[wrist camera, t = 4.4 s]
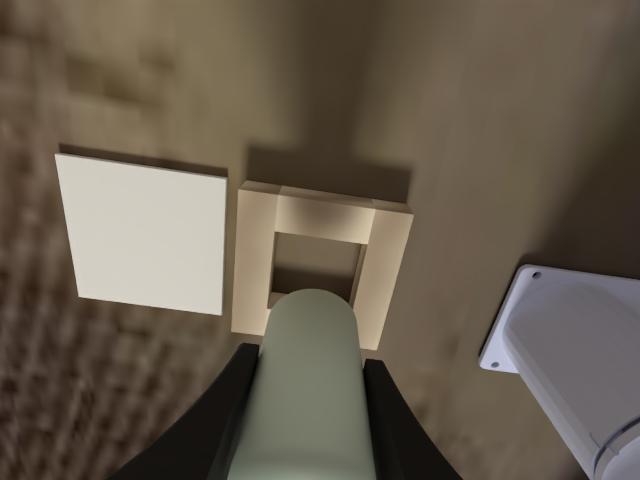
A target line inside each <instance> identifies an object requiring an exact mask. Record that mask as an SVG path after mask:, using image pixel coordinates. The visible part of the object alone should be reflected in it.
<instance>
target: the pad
mask: <svg viewBox="0 0 640 480" xmlns="http://www.w3.org/2000/svg"><path fill="white" fill-rule="evenodd" d="M55 158H56V164H57V170H58V176H59V182H60V188H61V194H62V199H63V205H64V211H65V217H66V223H67V229H68V235H69V241H70V246H71V252H72V258H73V264H74V270H75V276H76V282H77V287H78V293H79V297H85V298H92V299H100V300H108V301H115V302H123V303H131V304H138V305H146V306H154V307H161V308H169V309H177V310H184V311H192V312H200V313H208V314H215V315H222V313H223V301H224V274H225V246H226V218H227V190H228V177H221V176H214V175H207V174H201V173H194V172H187V171H180V170H173V169H167V168H160V167H153V166H146V165H139V164H133V163H126V162H119V161H112V160H105V159H99V158H92V157H85V156H78V155H71V154H65V153H58V154H55Z"/></svg>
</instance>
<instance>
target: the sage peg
mask: <svg viewBox="0 0 640 480" xmlns="http://www.w3.org/2000/svg"><path fill="white" fill-rule="evenodd" d="M227 480H376V473H375V465H374V457H373V448H372V440H371V432H370V424H369V416H368V408H367V400H366V392H365V383H364V375H363V367H362V359H361V351H360V343H359V335H358V327H357V320H356V316H355V313H354V312H353V310H352V308H351V307H350V305H349V304H348V303H347V302H346V301H345V300H343V299H342V298H341V297H339V296H337V295H336V294H334V293H331V292H328V291H325V290H320V289H303V290H298V291H294V292H292V293H289V294H287V295H286V296H284V297H283V298H281V299H280V300H279V301H278V302H277V303H276V304H275V305H274V307H273V308H272V310H271V312H270V314H269V318H268V321H267V325H266V329H265V333H264V337H263V341H262V345H261V349H260V353H259V357H258V361H257V365H256V369H255V373H254V377H253V381H252V384H251V388H250V392H249V396H248V400H247V403H246V407H245V411H244V415H243V419H242V423H241V427H240V431H239V435H238V439H237V442H236V446H235V450H234V454H233V458H232V462H231V466H230V470H229V474H228V478H227Z"/></svg>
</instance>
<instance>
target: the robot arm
mask: <svg viewBox="0 0 640 480" xmlns="http://www.w3.org/2000/svg"><path fill="white" fill-rule="evenodd" d="M535 272H538V273H537V274H536V275H535V276H533V274H534V273H535ZM258 354H259V345H257V344H249V343H242V344H240V345H239V347H238V349H237V351H236V352H235V354H234V355H233V357H232V358H231V359H230V361H229V362H228V364H227V365H226V366H225V368H224V369H223V370H222V372H221V373H220V374H219V375H218V377H217V378H216V379H215V380H214V382H213V383H212V384H211V385H210V386H209V388H208V389H207V390H206V391H205V392H204V393H203V394H202V395H201V397H200V398H199V399H198V400H197V401H196V402H195V403H194V404H193V405H192V406H191V407H190V408H189V409H188V410H187V412H186V413H185V414H184V415H183V416H182V417H180V418H179V419H178V420H177V421H176V422H175V423H174V424H173V425H172V426H171V427H170V428H169V429H168V430H167V431H165V432H164V433H163V434H162V435H161V436H160V437H159V438H157V439H156V440H155V441H154V442H153V443H152V444H150V445H149V446H148V447H147V448H146V449H144V450H143V451H142V452H141V453H139V454H138V455H137V456H135V457H134V458H133V459H131V460H130V461H129V462H128V463H126V464H125V465H124V466H122V467H121V468H120V469H118V470H117V471H116V472H114V473H113V474H112V475H110V476H109V477H107V478H106V479H104V480H227V478H228V474H229V470H230V466H231V462H232V458H233V454H234V450H235V446H236V442H237V439H238V435H239V431H240V427H241V423H242V419H243V415H244V411H245V407H246V403H247V400H248V396H249V392H250V388H251V384H252V381H253V377H254V373H255V369H256V365H257V361H258ZM478 362H479V364H480V366H481V367H482V368H483V369H489V370H497V371H505V372H512V373H519V374H520V375H521V377H522V378H523V380H524V381H525V383H526V384H527V386H528V387H529V389H530V390H531V392H532V393H533V395H534V396H535V398H536V399H537V401H538V402H539V404H540V405H541V407H542V408H543V410H544V411H545V413H546V414H547V416H548V417H549V419H550V420H551V422H552V423H553V425H554V426H555V428H556V429H557V431H558V432H559V434H560V435H561V437H562V438H563V440H564V441H565V443H566V444H567V446H568V447H569V449H570V450H571V452H572V453H573V455H574V456H575V458H576V459H577V461H578V462H579V464H580V465H581V467H582V468H583V470H584V471H585V473H586V474H587V476H588V477H589V479H590V480H640V280H636V279H629V278H622V277H614V276H607V275H600V274H593V273H586V272H579V271H572V270H565V269H558V268H551V267H544V266H537V265H530V264H526V265H523V266H521V267H520V268H519V269H518V271H517V273H516V275H515V278H514V280H513V282H512V285H511V287H510V289H509V291H508V294H507V296H506V298H505V300H504V303H503V305H502V307H501V310H500V312H499V314H498V316H497V319H496V321H495V323H494V326H493V328H492V330H491V332H490V335H489V337H488V339H487V341H486V344H485V346H484V348H483V351H482V353H481V355H480V357H479V360H478ZM494 362H495V363H494ZM363 375H364V383H365V392H366V400H367V408H368V416H369V424H370V432H371V440H372V448H373V457H374V465H375V473H376V480H463V479H462V478H461V477H460V475H459V474H458V473H457V472H456V471H455V470H454V469H453V467H452V466H451V465H450V464H449V463H448V461H447V460H446V459H445V458H444V456H443V455H442V454H441V453H440V451H439V450H438V449H437V447H436V446H435V445H434V443H433V442H432V441H431V439H430V438H429V437H428V435H427V434H426V432H425V431H424V429H423V428H422V427H421V425H420V424H419V422H418V421H417V419H416V418H415V416H414V415H413V413H412V411H411V410H410V408H409V407H408V405H407V403H406V402H405V400H404V398H403V397H402V395H401V393H400V392H399V390H398V388H397V386H396V385H395V383H394V381H393V379H392V377H391V375H390V374H389V372H388V370H387V368H386V366H385V364H384V362H383V361H382V360H374V359H366V361H365V365H364V369H363Z"/></svg>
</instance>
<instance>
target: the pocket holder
mask: <svg viewBox="0 0 640 480" xmlns="http://www.w3.org/2000/svg"><path fill="white" fill-rule="evenodd" d="M413 217H414V214H413V213H412V211H411V210H410V208H409V207H408V205H407V204H404V203H398V202H391V201H384V200H377V199H370V198H364V197H357V196H350V195H343V194H336V193H330V192H323V191H316V190H309V189H302V188H296V187H289V186H282V185H275V184H268V183H262V182H255V181H248V180H246V181H245V182H244V183H243V185H242V186H241V187H240V188H239V189H238V209H237V229H236V249H235V269H234V290H233V310H232V330H231V332H239V333H247V334H255V335H263V336H264V333H265V329H266V325H267V321H268V318H269V314H270V312H271V310H272V308H273V307H274V305H275V304H276V303H277V302H278V301H279V300H280V299H281V298H283V297H284V296H286V295H287V294H282V293H275V292H271V291H272V281H273V271H274V262H275V252H276V242H277V233H278V232H283V233H291V234H298V235H305V236H312V237H319V238H326V239H333V240H340V241H347V242H354V243H361V244H362V245H361V249H360V254H359V259H358V263H357V268H356V272H355V277H354V282H353V286H352V291H351V296H350V300H349V302H347V303H348V304H349V305H350V307H351V308H352V310H353V312H354V313H355V316H356V320H357V327H358V335H359V343H360V348H364V349H372V350H377V347H378V344H379V340H380V336H381V333H382V329H383V326H384V322H385V318H386V315H387V311H388V307H389V304H390V300H391V297H392V293H393V289H394V286H395V282H396V278H397V275H398V271H399V267H400V264H401V260H402V257H403V253H404V249H405V246H406V242H407V238H408V235H409V231H410V228H411V224H412V220H413Z"/></svg>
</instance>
